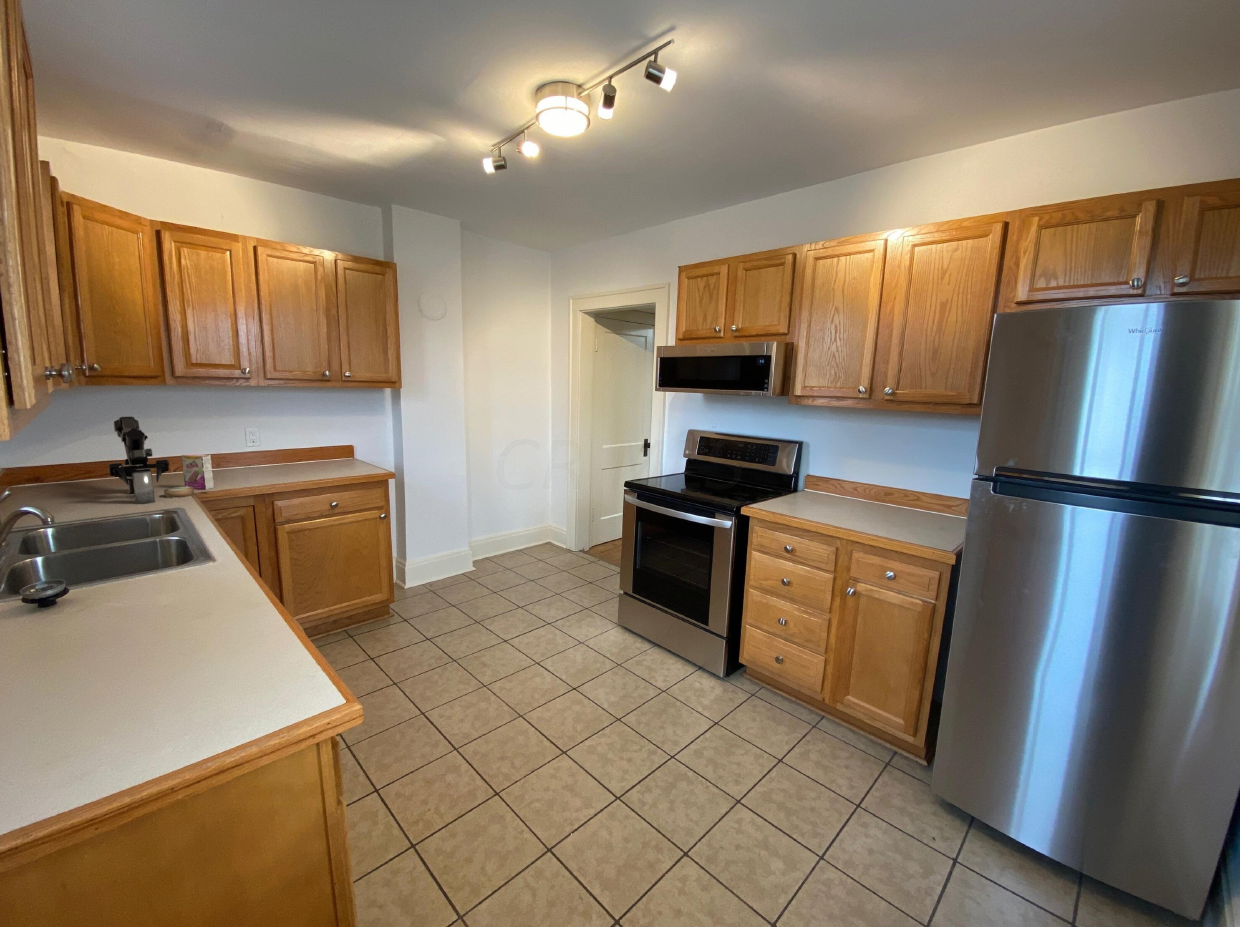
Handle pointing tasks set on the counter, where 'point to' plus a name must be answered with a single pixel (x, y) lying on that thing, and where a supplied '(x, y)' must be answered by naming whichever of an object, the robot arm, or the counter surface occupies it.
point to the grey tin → (143, 487)
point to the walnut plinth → (179, 492)
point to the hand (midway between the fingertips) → (143, 482)
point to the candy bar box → (197, 471)
